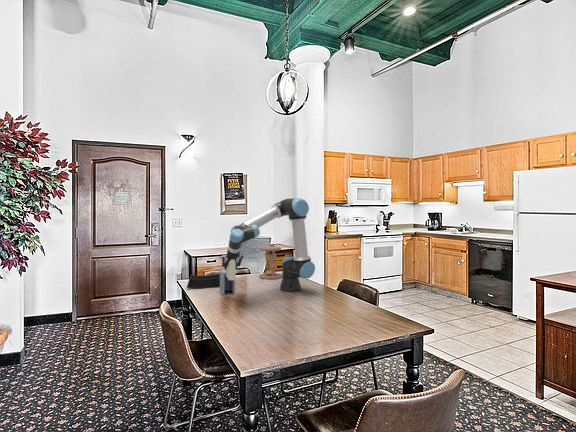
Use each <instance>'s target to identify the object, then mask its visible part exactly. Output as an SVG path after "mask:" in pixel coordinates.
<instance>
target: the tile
mask: <svg viewBox="0 0 576 432" xmlns="http://www.w3.org/2000/svg"><path fill="white" fill-rule="evenodd" d="M226 260H227V257H226V258H225V261H226ZM236 270H237V269H236V261H235V260H231V261H229V264H228V270H227V273H226V277H227V278H228V280H235V281H236Z"/></svg>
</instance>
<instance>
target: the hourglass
mask: <svg viewBox="0 0 576 432" xmlns="http://www.w3.org/2000/svg"><path fill="white" fill-rule="evenodd" d="M281 250H282V247H281V246H275V245H274V246H272V245H270V246H269V245H267V246H260V247H259V251H262V252H265V253H264V257H265V265H264V267H265V271H264V273H260V274H259V279H261V280H265V279H266V280H267V281H269V280H271V281H272V280H273V281H274V280H280V279H282V278H281V277H282V274H280V273H276V265H275V262H276V255H277V254H276V252H279V251H281ZM270 264H271V269H269V268H270Z"/></svg>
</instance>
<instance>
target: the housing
mask: <svg viewBox="0 0 576 432" xmlns="http://www.w3.org/2000/svg"><path fill="white" fill-rule="evenodd" d="M219 273H220V287H219V291H220V293H221V294H222V296H225V295H226V294H225V291H232V292H231V293H232V294H233V295H236V279H235V280H228V278H227V277H226V272H225V269H224V268H223V269H219Z"/></svg>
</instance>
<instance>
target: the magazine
mask: <svg viewBox="0 0 576 432" xmlns="http://www.w3.org/2000/svg"><path fill="white" fill-rule="evenodd" d="M189 275H190V276H189V278H188V281H187V286H186V288H187V289H198V290H199V289H200V290H204V289H214V288H220V272H219V273H215V274H207V275H194V274H192V273H191V274H189Z"/></svg>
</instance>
